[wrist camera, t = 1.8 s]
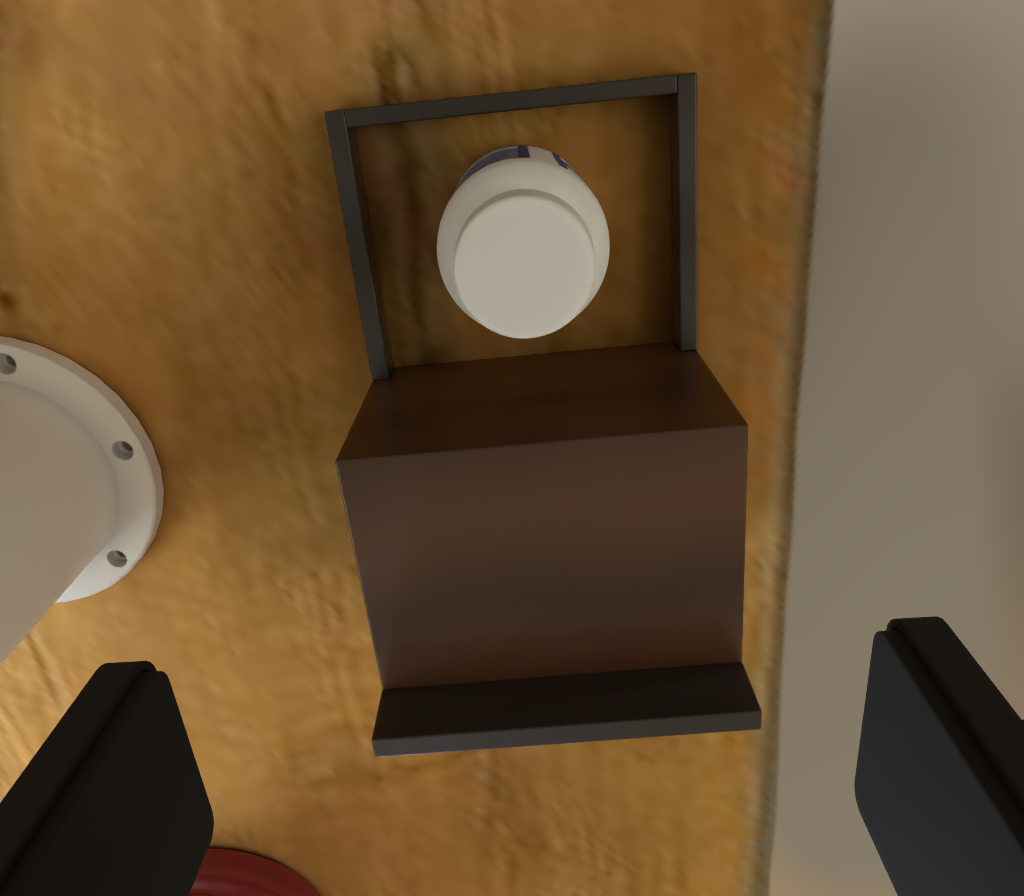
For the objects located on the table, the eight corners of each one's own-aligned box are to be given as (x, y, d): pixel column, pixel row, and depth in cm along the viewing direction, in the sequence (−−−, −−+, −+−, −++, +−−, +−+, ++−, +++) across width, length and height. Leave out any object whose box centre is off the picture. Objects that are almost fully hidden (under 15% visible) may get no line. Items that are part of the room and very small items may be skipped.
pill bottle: (440, 271, 32) (412, 344, 23) (464, 129, 30) (444, 148, 21) (572, 298, 32) (595, 379, 23) (605, 160, 30) (645, 192, 21)
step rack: (332, 110, 29) (234, 125, 19) (688, 72, 29) (788, 66, 18) (413, 570, 38) (375, 758, 27) (691, 547, 37) (761, 729, 27)
